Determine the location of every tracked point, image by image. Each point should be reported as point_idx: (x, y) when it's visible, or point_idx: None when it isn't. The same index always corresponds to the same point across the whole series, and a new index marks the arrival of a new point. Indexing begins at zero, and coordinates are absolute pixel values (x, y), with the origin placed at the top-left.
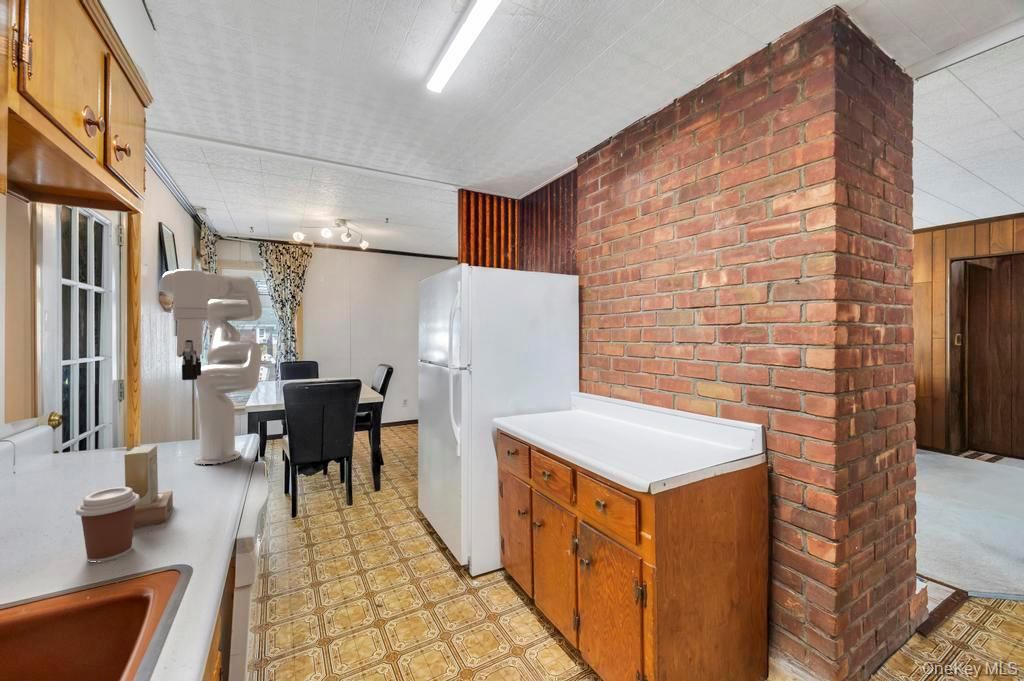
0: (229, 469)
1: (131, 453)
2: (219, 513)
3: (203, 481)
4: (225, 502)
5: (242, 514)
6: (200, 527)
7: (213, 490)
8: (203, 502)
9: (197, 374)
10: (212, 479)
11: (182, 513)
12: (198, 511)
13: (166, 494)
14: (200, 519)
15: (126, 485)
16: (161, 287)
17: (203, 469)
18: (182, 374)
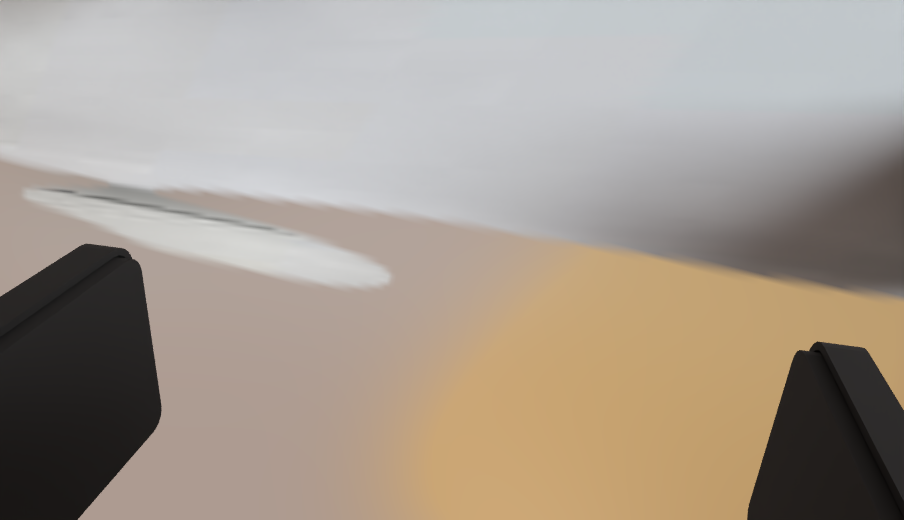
0: (759, 211)
1: None
2: (150, 134)
3: (620, 86)
4: (257, 160)
5: (110, 201)
6: (45, 71)
7: (440, 125)
8: (299, 83)
9: (756, 495)
10: (626, 127)
11: (207, 7)
12: (203, 65)
13: None
14: (118, 71)
15: None
16: None
17: (877, 89)
18: (22, 290)
